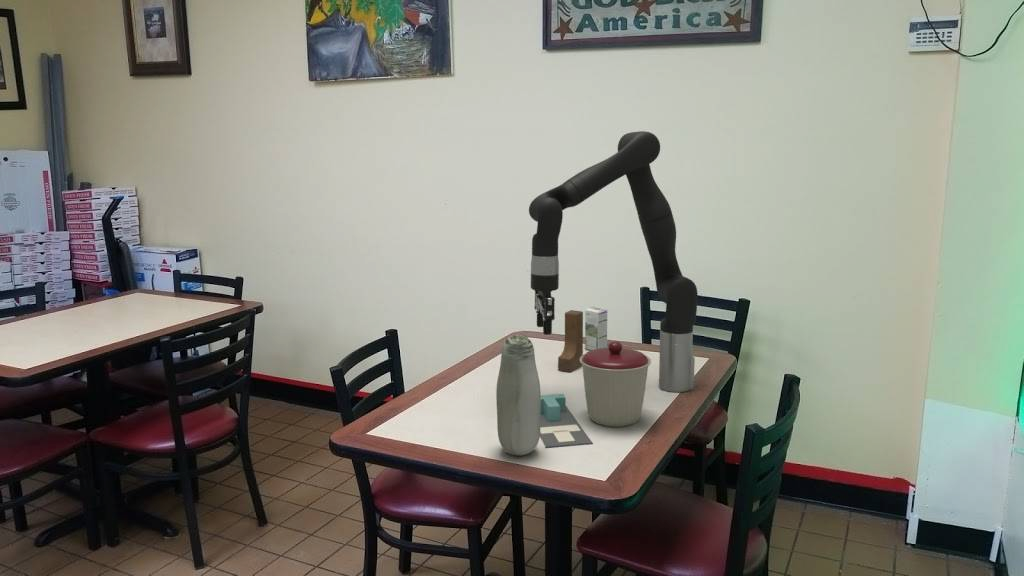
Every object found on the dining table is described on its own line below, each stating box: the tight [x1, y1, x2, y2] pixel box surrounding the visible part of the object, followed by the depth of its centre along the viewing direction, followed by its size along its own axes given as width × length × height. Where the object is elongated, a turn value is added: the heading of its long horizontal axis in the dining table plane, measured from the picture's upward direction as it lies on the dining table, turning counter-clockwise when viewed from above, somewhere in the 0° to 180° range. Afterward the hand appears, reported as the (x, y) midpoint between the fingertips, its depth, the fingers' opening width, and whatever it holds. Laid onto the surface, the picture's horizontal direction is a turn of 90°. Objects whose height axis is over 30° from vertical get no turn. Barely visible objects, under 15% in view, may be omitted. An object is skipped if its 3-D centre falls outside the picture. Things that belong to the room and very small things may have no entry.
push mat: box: [539, 405, 593, 449], centre depth 191 cm, size 12×28×1 cm, turn 10°
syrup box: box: [584, 306, 608, 351], centre depth 258 cm, size 6×6×14 cm
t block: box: [540, 393, 567, 422], centre depth 197 cm, size 9×9×4 cm
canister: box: [580, 340, 652, 428], centre depth 192 cm, size 18×18×21 cm
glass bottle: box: [495, 334, 542, 457], centre depth 172 cm, size 10×10×28 cm
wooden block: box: [557, 309, 584, 373], centre depth 237 cm, size 9×4×18 cm, turn 148°
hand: (544, 330), depth 203 cm, fingers open, 8 cm apart
